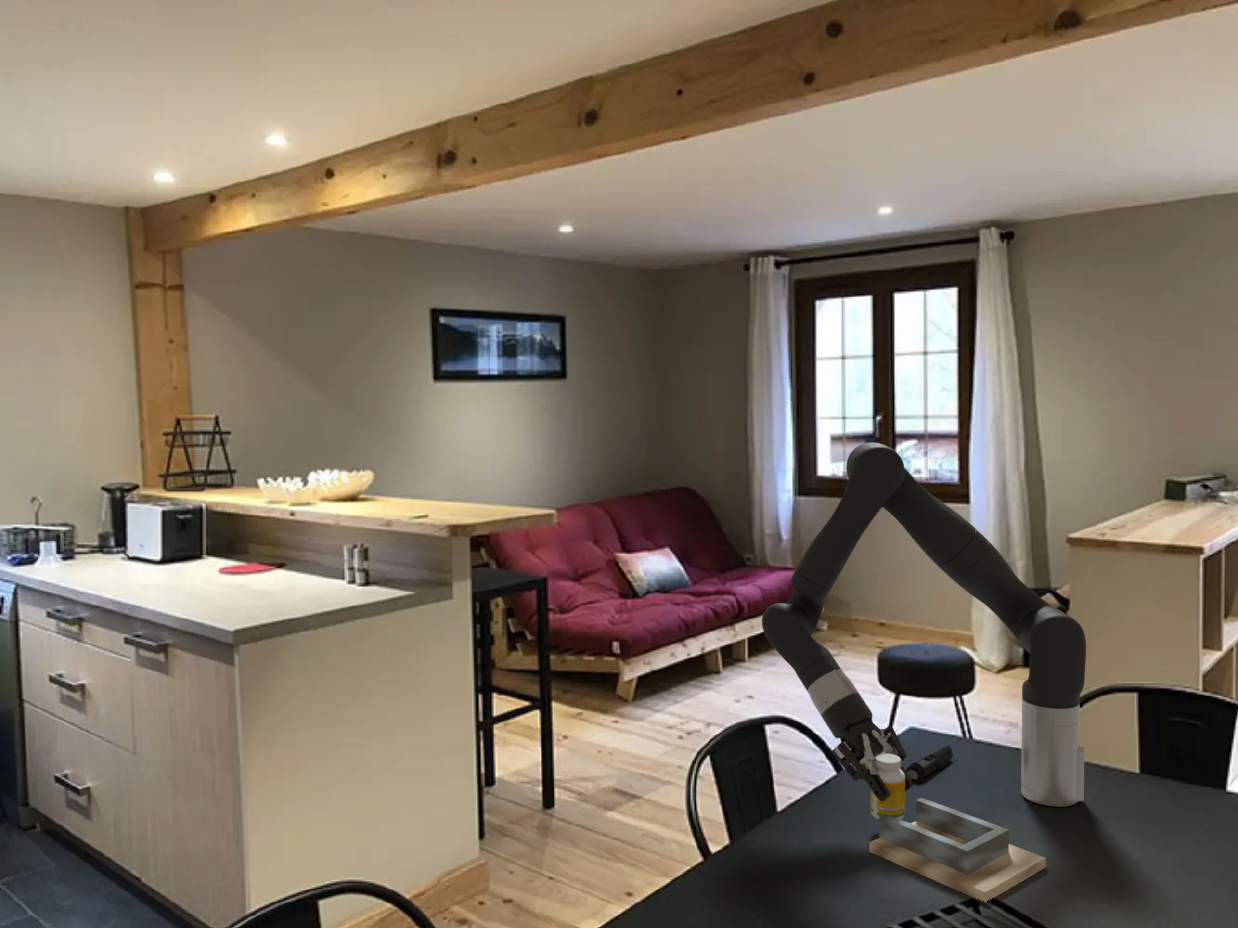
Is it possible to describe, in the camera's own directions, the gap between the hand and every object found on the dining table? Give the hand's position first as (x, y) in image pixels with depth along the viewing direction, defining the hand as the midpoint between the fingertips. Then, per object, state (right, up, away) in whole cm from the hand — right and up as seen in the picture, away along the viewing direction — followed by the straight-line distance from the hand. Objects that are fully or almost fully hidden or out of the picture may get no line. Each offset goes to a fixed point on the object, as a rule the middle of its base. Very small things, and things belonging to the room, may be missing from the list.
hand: (897, 793), depth 157 cm
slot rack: (+7, -7, -8) cm, 13 cm away
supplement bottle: (-1, -4, +2) cm, 5 cm away
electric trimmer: (+14, -5, +28) cm, 31 cm away
